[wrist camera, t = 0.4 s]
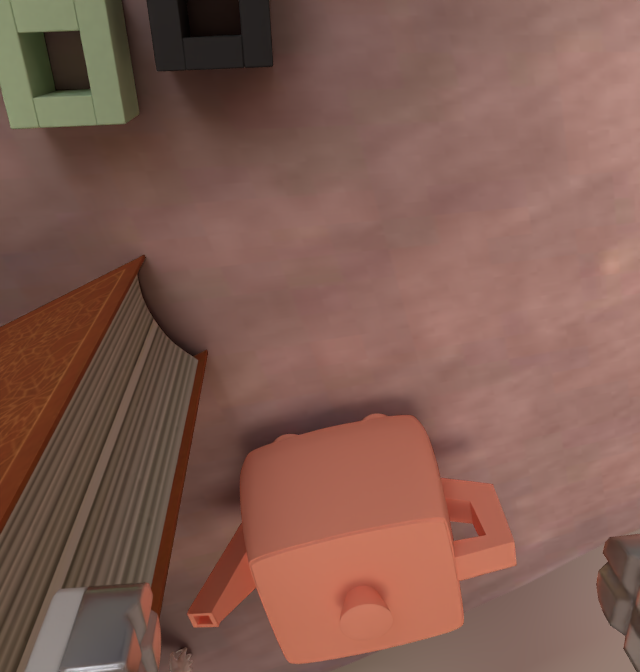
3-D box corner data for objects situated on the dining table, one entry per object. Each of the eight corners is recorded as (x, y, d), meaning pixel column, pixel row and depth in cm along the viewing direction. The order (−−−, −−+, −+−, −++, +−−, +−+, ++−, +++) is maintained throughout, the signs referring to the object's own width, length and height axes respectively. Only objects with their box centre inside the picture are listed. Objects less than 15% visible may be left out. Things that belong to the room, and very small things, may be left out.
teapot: (227, 557, 53) (213, 725, 40) (178, 443, 47) (145, 596, 34) (477, 501, 52) (544, 654, 39) (460, 377, 46) (531, 510, 34)
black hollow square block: (151, -57, 32) (136, -68, 29) (265, -61, 33) (264, -71, 29) (167, 66, 35) (156, 71, 31) (272, 62, 35) (273, 66, 32)
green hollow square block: (8, 2, 33) (-23, -1, 29) (121, -2, 33) (103, -5, 30) (35, 119, 36) (10, 129, 32) (139, 114, 36) (125, 124, 33)
